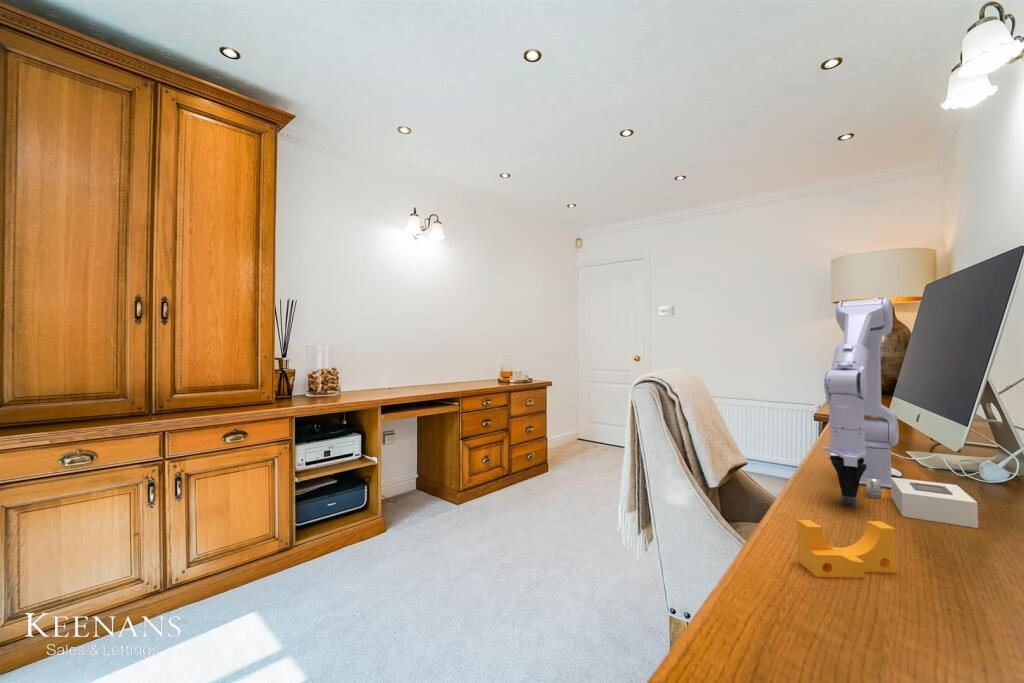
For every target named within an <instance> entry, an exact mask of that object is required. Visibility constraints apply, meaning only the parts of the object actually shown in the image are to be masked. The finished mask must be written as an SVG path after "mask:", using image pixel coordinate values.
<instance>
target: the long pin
mask: <svg viewBox="0 0 1024 683" xmlns="http://www.w3.org/2000/svg"><path fill="white" fill-rule="evenodd" d="M840 498H841V501H840V502H841V505H842V506H843V507H848V508H857V496H856V497H849V496H843V494H842V491H841V490H840Z"/></svg>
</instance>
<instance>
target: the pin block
mask: <svg viewBox="0 0 1024 683" xmlns="http://www.w3.org/2000/svg"><path fill="white" fill-rule="evenodd" d="M890 489H891V490H890V491H891V499H892V501H893V503H894V504H895V506H896V507H897V509H898V511H899V512H900V514H901V516H902V517H904V518H911V519H916V520H917V519H918V520H923V521H929V522H935V523H942V524H948V525H953V526H955V525H956V526H962V527H968V528H974V529H979V509H978V502H977V501H976V500H975V499H974V498H973V497H971V496H970V495H969V494H968V493H967V492H965V490H963V489H962V488H961V487H960V486H958V485H957V484H951V483H943V482H935V481H926V480H918V479H917V480H916V479H909V478H901V477H893V476H891V488H890Z"/></svg>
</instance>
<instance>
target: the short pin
mask: <svg viewBox="0 0 1024 683" xmlns="http://www.w3.org/2000/svg"><path fill="white" fill-rule="evenodd" d="M866 482H867V485H866V497H867V498H870V499H874V500H881V499H882V487H881V479H879V478H875V477H866Z"/></svg>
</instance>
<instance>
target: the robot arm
mask: <svg viewBox="0 0 1024 683" xmlns="http://www.w3.org/2000/svg"><path fill="white" fill-rule="evenodd" d="M893 312H894V311H893V303H892V300H891V299H890V298H889V297H887V296H886V297H883V298H872V299H871V298H870V299H857V300H848V301H844V300H840V301H839V302H838V303H836V307H835V318H836V323H837V324H838V326H839V327H840V329H841V331H842V332H843V343H841V344H840V345H838V346H837V347H836V348H835V352H834V355H833V360H832V363H831V368H830V370H829V371H826V372H825V373H824V377H823V390H824V393H825V402H826V405H828V422H829V424H828V426H829V427H828V428H829V431H828V432H829V446H828V445H823V446H822V451H824V452H829V453H832V454H831V455H829V459H830V463H831V464H832V465H833V467H834V470H835V471H836V475H837V479H838V483H839V488H840V492H841V491H842V494H843V496H849V497H856V498H857V495H858V491H859V485H863V486H865V485H866V486H867V482H866V477H875V478H879V479H881V488H888V489H891V477H892V454H891V448H892V447H895V446H896V445H898V444H899V437H900V432H899V431H900V430H899V423H898V415H897V414H896V413H895V412H894V410H891V409H890V408H888V407H887V406H885V405H883V403H882V363H881V360H882V358H881V353H882V352H881V344H882V340H883V337H884V336H885V335H889V334H891V333H892V330H893V326H894V325H893V324H894V323H893V322H894V321H893V314H894V313H893ZM867 416H868V417H867ZM878 417H879V418H878ZM833 454H834V455H833Z"/></svg>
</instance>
